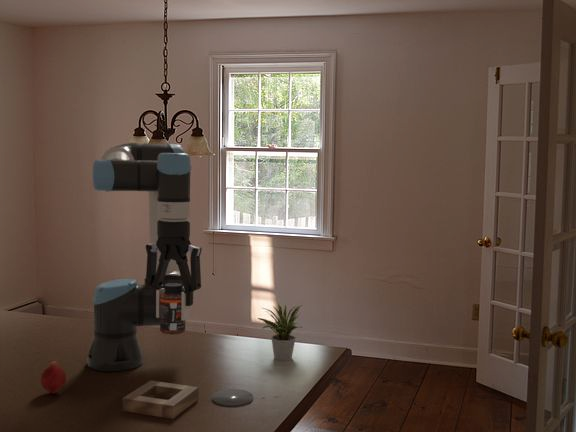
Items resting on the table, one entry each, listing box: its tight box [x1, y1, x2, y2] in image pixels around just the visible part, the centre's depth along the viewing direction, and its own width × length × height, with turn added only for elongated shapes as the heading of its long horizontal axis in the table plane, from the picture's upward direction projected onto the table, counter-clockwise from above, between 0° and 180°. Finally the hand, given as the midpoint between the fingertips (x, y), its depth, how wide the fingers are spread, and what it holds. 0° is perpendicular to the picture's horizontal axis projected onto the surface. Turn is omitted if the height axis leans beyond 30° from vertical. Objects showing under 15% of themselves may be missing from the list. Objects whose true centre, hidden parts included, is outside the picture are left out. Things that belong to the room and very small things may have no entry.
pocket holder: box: [122, 380, 199, 420], centre depth 161 cm, size 13×13×3 cm
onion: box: [40, 361, 67, 394], centre depth 166 cm, size 6×6×8 cm
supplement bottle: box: [159, 283, 186, 335], centre depth 159 cm, size 6×6×11 cm
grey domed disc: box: [211, 388, 254, 407], centre depth 166 cm, size 10×10×1 cm
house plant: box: [257, 303, 304, 362], centre depth 200 cm, size 14×14×16 cm
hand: (172, 317), depth 159 cm, fingers closed on supplement bottle, 6 cm apart
